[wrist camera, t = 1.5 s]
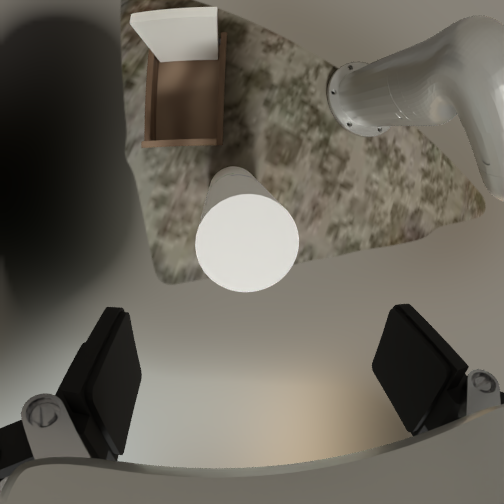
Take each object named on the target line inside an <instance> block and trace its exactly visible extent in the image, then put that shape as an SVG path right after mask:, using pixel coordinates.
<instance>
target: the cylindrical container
mask: <svg viewBox="0 0 504 504" xmlns="http://www.w3.org/2000/svg"><path fill="white" fill-rule="evenodd" d="M195 247H196V255H197V258H198V261H199V264H200V265H201V267H202V269H203V271H204V272H205V273H206V274H207V275H208V277H209V278H210V279H211V280H213V281H214V282H215V283H217V284H218V285H220V286H222V287H224V288H226V289H229V290H233V291H238V292H254V291H258V290H262V289H265V288H267V287H270V286H272V285H274V284H275V283H276V282H278V281H279V280H281V279H282V278H283V277H284V276H285V275H286V274H287V273H288V271H289V270H290V268H291V267H292V265H293V264H294V261H295V259H296V256H297V253H298V248H299V236H298V231H297V227H296V225H295V222H294V220H293V218H292V217H291V215H290V214H289V213H288V211H287V210H286V209H285V208H284V207H283V206H282V205H281V204H280V203H279V202H278V201H277V200H276V199H275V198H274V197H273V196H272V195H271V194H270V193H269V192H268V190H267V189H266V188H265V187H264V186H263V185H262V184H261V183H260V182H259V181H258V180H257V179H256V178H255V177H254V176H253V175H252V174H251V173H250V172H248V171H247V170H245V169H244V168H241V167H236V166H230V167H226V168H224V169H221V170H220V171H219V172H217V173H216V174H215V175H214V177H213V178H212V180H211V183H210V186H209V190H208V193H207V197H206V200H205V204H204V208H203V211H202V215H201V219H200V223H199V227H198V230H197V234H196V243H195Z"/></svg>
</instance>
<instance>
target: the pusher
mask: <svg viewBox="0 0 504 504" xmlns="http://www.w3.org/2000/svg"><path fill="white" fill-rule="evenodd" d="M130 24H131V26H132V27H133V28H134V29H135V31H136V32H137V33H138V34H139V36H140V37H141V38H142V39H143V41H144V42H145V43H146V45H147V46H148V47H149V48H150V50H151V51H152V52H153V53H154V55H155V56H156V57H157V59H158V60H159V61H160V62H170V61H187V60H218V7H190V8H175V9H164V10H155V11H147V12H140V13H134V14H131V19H130Z"/></svg>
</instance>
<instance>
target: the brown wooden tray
mask: <svg viewBox="0 0 504 504" xmlns="http://www.w3.org/2000/svg"><path fill="white" fill-rule="evenodd" d="M226 44H227V32H221V39H218V60H187V61H170V62H160V61H159V60H158V59H157V57H156V56H155V55H154V53H153V52H152V51H151V50H150V48H149V55H148V67H147V81H146V100H145V141H142V148H148V147H166V146H197V145H223V116H224V87H225V64H226Z"/></svg>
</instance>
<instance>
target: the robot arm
mask: <svg viewBox="0 0 504 504" xmlns="http://www.w3.org/2000/svg"><path fill="white" fill-rule="evenodd" d="M348 68H349V69H348ZM331 92H333V94H332V93H331ZM327 98H328V103H329V107H330V110H331V112H332V114H333V116H334V117H335V118H336V120H337V121H338V122H339V123H340V124H341V125H342V126H343V127H344V128H345V129H347V130H348V131H349V132H352V133H354V134H356V135H360V136H377V135H380V134H382V133H384V132H386V131H387V130H388V129H389V128H390V127H391V126H437V125H441V124H444V123H447V122H448V121H449V120H451V119H453V118H454V117H455V116H456V115H457V114H458V116H459V118H460V121H461V123H462V125H463V127H464V128H465V131H466V134H467V136H468V139H469V142H470V145H471V147H472V150H473V153H474V156H475V159H476V162H477V165H478V168H479V172H480V174H481V177H482V180H483V182H484V184H485V186H486V188H487V189H488V191H489V192H490V193H491V194H492V195H493V196H494V197H495V198H497V199H498V200H500V201H503V202H504V25H503V24H502V23H501V22H499V21H497V20H496V19H493V18H491V17H487V16H471V17H467V18H464V19H461V20H459V21H457V22H455V23H453V24H451V25H450V26H449V27H447V28H445V29H444V30H442V31H440V32H439V33H437V34H436V35H434V36H433V37H431V38H429V39H427V40H425V41H423V42H421V43H419V44H416V45H414V46H412V47H409V48H407V49H404V50H402V51H399V52H397V53H394V54H392V55H389V56H387V57H385V58H382V59H380V60H378V61H376V62H373V63H371V64H368V63H364V62H351V63H348V64H345V65H343V66H341V67H340V68H339V69H337V70H336V71H335V72H334V74H333V75H332V76H331V78H330V80H329V84H328V88H327ZM347 123H348V124H349V125H348V126H347ZM372 369H373V372H374V374H375V375H376V377H377V379H378V381H379V382H380V384H381V386H382V387H383V389H384V391H385V393H386V394H387V396H388V398H389V399H390V401H391V403H392V405H393V406H394V408H395V410H396V412H397V413H398V415H399V417H400V419H401V421H402V422H403V424H404V426H405V428H406V429H407V431H408V432H411V433H412V435H413V437H410V438H407V439H404V440H401V441H398V442H394V443H391V444H387V445H384V446H380V447H377V448H373V449H369V450H365V451H361V452H357V453H352V454H348V455H344V456H338V457H333V458H328V459H322V460H316V461H310V462H304V463H296V464H287V465H278V466H267V467H252V468H224V469H210V468H209V469H207V468H204V469H203V468H181V467H165V466H153V465H143V464H135V463H128V462H119V461H117V459H118V455H123V453H124V449H125V445H126V440H127V435H128V431H129V427H130V422H131V418H132V414H133V410H134V405H135V402H136V398H137V394H138V390H139V386H140V382H141V375H142V374H141V368H140V364H139V359H138V355H137V350H136V346H135V341H134V336H133V331H132V326H131V320H130V315H129V313H128V312H124V309H123V308H116V307H107V308H106V309H105V310H104V312H103V314H102V315H101V317H100V319H99V321H98V322H97V324H96V326H95V327H94V329H93V331H92V332H91V334H90V336H89V338H88V340H87V341H86V342H85V343H83V344H82V345H81V347H80V349H79V351H78V352H77V355H76V356H75V358H74V360H73V362H72V363H71V365H70V367H69V369H68V371H67V373H66V375H65V377H64V379H63V381H62V383H61V385H60V387H59V389H58V391H57V393H56V395H52V394H39V395H35V396H33V397H31V398H30V399H29V400H28V401H27V402H26V403H25V404H24V406H23V408H22V412H21V417H22V420H20V421H17V422H15V423H12V424H10V425H7V426H5V427H3V428H0V504H504V393H503V392H500V388H499V384H498V381H497V380H496V378H495V377H494V376H493V375H492V374H490V373H489V372H487V371H484V370H479V369H477V370H473V371H471V372H470V373H469V374H468V376H466V374H465V372H466V371H467V369H468V365H467V364H466V363H465V362H464V361H463V360H462V358H461V357H460V356H459V355H458V354H457V353H456V352H455V351H454V350H453V349H452V347H451V346H450V345H449V344H448V343H447V342H446V341H445V340H444V339H443V338H442V337H441V336H440V335H439V334H438V332H437V331H436V330H435V329H434V328H433V327H432V326H431V325H430V324H429V323H428V322H427V321H426V320H425V319H424V318H423V317H422V316H421V315H420V314H419V313H418V312H417V311H416V310H415V309H414V308H413V307H412V306H411V305H410V304H399V305H395V306H394V307H393V309H391V310H390V312H389V315H388V318H387V322H386V324H385V328H384V331H383V334H382V337H381V340H380V343H379V346H378V349H377V352H376V354H375V357H374V360H373V363H372Z"/></svg>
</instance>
